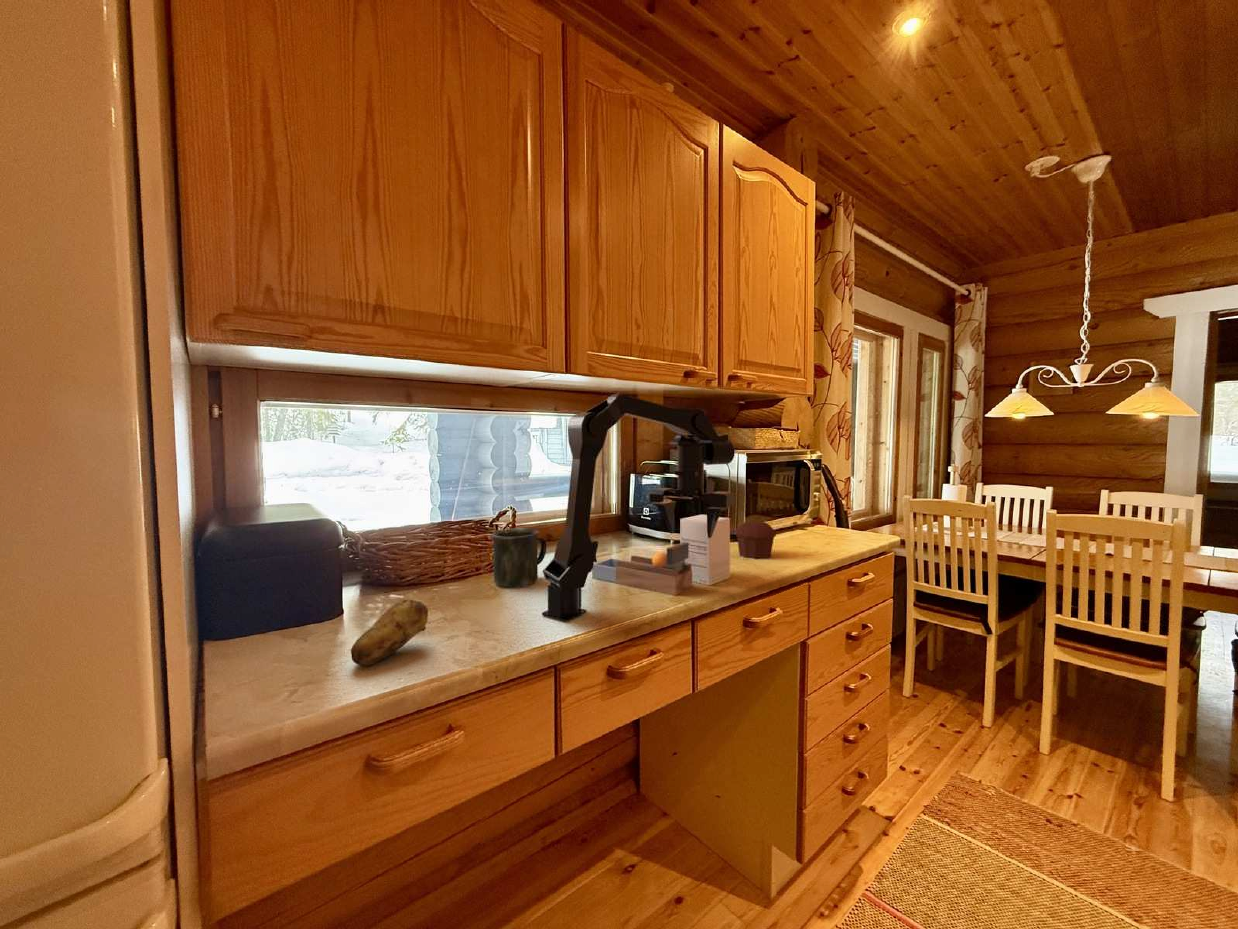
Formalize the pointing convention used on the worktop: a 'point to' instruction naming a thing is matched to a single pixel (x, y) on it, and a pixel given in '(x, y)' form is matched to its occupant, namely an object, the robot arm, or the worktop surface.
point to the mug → (517, 556)
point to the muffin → (755, 539)
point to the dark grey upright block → (677, 556)
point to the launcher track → (652, 576)
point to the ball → (659, 560)
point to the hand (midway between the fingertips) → (690, 535)
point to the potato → (390, 632)
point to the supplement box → (707, 549)
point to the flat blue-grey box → (606, 570)
